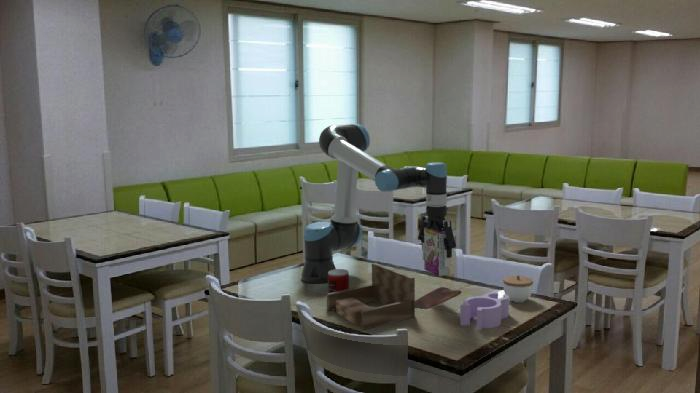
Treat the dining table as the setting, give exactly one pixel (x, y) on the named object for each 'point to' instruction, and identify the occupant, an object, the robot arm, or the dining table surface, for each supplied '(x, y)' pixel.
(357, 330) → the dining table surface
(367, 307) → the offcut upper
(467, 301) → the clip
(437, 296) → the wooden tablet
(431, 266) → the candy bar box
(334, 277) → the canned food
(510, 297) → the lidded jar
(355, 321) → the offcut lower
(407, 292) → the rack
